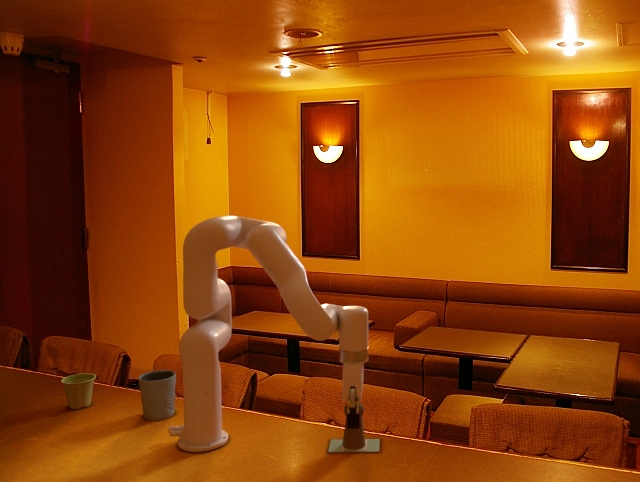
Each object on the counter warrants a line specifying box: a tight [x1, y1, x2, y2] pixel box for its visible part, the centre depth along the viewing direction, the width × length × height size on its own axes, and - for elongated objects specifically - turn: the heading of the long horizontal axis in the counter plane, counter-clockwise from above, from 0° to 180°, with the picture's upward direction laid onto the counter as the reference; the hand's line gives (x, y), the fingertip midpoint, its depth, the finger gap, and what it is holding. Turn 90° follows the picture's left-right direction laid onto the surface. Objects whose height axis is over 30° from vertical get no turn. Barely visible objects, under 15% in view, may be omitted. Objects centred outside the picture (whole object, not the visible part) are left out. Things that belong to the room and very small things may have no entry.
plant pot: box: [60, 372, 97, 410], centre depth 186 cm, size 9×9×9 cm
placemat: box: [327, 438, 381, 454], centre depth 157 cm, size 13×8×1 cm, turn 91°
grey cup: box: [138, 369, 177, 421], centre depth 178 cm, size 10×10×12 cm
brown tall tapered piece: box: [342, 401, 366, 450], centre depth 157 cm, size 6×6×11 cm
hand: (354, 422), depth 157 cm, fingers closed on brown tall tapered piece, 5 cm apart
